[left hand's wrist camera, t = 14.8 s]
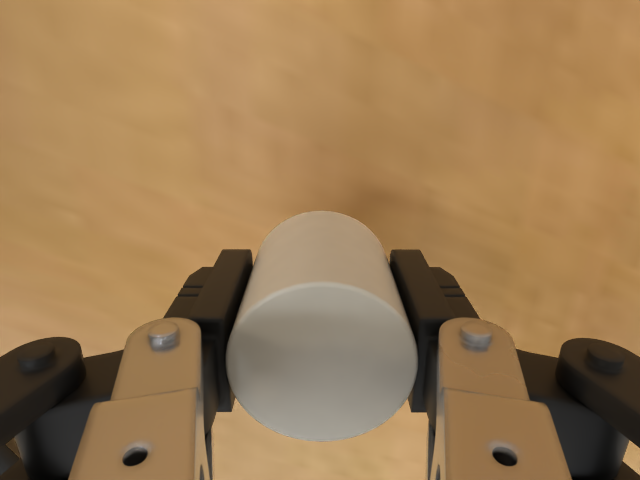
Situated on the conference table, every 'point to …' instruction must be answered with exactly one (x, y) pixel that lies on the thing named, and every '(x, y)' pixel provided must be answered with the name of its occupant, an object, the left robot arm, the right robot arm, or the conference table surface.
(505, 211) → the conference table surface
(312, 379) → the canister
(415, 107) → the conference table surface
